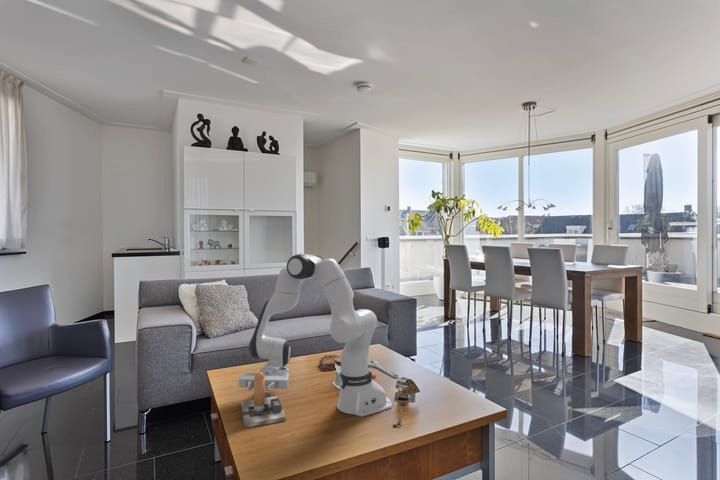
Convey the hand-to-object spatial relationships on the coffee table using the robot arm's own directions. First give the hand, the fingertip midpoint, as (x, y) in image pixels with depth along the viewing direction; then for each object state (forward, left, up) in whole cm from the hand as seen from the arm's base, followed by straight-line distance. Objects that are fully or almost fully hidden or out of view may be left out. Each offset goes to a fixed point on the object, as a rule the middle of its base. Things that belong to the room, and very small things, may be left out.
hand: (258, 388), depth 149 cm
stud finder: (-7, -1, -9) cm, 12 cm away
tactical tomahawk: (-53, +19, -11) cm, 58 cm away
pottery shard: (-43, -45, -11) cm, 64 cm away
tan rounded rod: (0, -1, -9) cm, 9 cm away
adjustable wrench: (-65, -29, -11) cm, 72 cm away
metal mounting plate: (-2, -3, -11) cm, 11 cm away
